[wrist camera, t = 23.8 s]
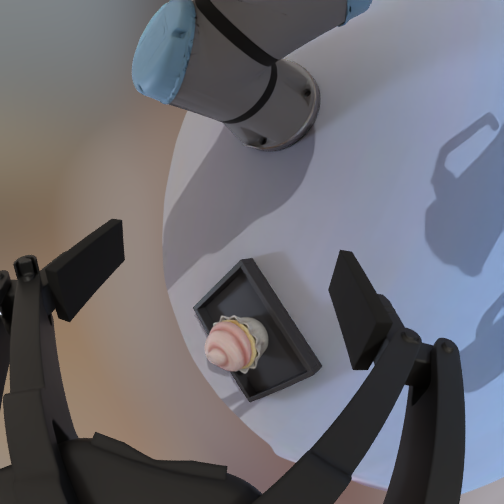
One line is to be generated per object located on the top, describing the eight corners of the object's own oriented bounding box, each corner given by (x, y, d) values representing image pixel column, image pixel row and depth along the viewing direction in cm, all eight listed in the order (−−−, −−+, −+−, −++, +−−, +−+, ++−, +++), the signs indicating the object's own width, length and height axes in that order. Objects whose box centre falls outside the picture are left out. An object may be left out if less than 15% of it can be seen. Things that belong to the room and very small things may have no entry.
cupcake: (279, 314, 39) (235, 334, 31) (275, 368, 40) (234, 397, 32) (231, 301, 45) (184, 315, 37) (230, 351, 46) (187, 372, 38)
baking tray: (204, 304, 50) (192, 307, 48) (252, 257, 43) (240, 259, 40) (259, 395, 44) (249, 402, 42) (322, 366, 36) (314, 374, 34)
